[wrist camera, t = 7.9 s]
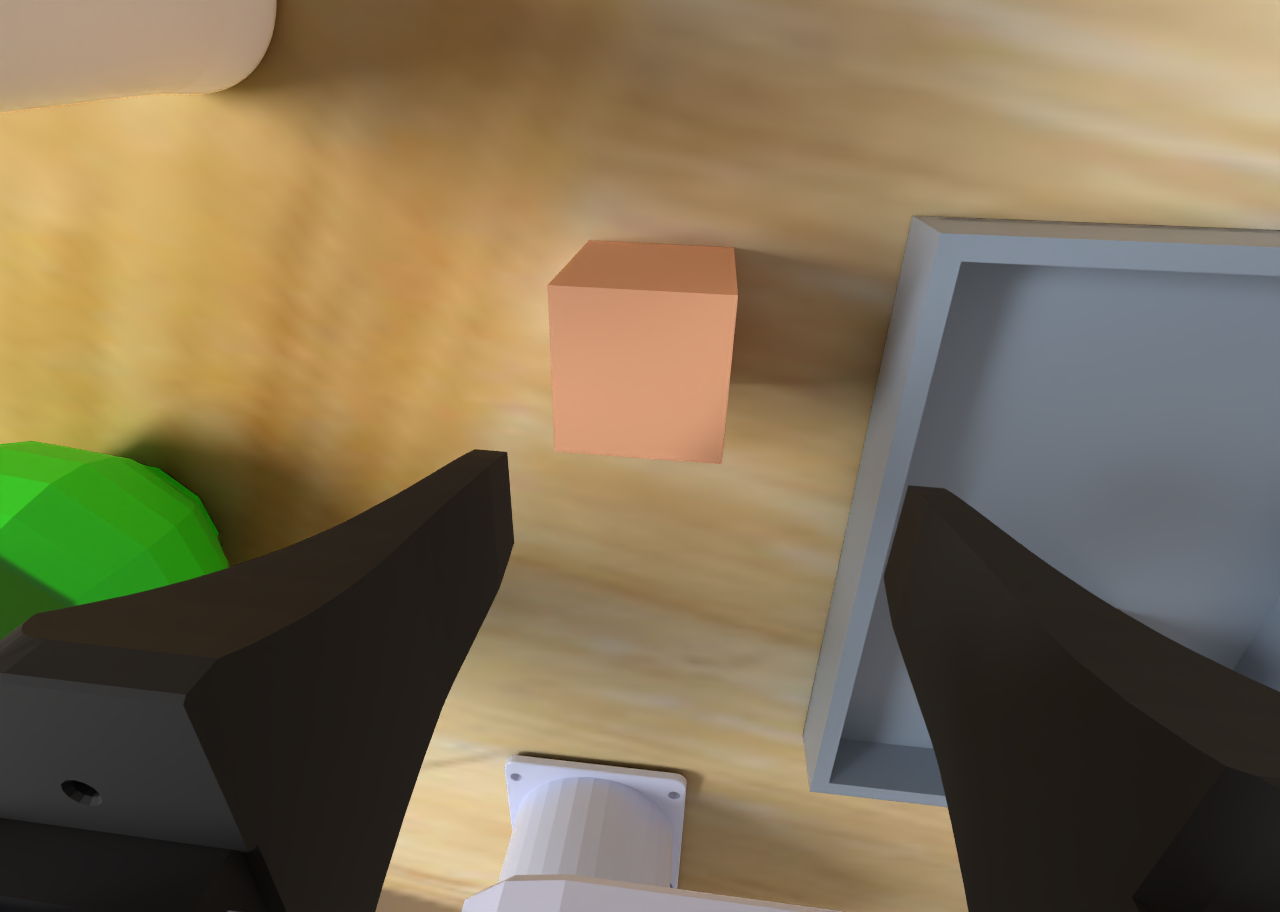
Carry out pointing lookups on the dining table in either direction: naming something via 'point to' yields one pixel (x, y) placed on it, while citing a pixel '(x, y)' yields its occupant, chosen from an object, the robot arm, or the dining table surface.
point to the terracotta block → (643, 350)
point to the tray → (1065, 452)
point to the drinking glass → (126, 48)
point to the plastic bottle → (93, 530)
